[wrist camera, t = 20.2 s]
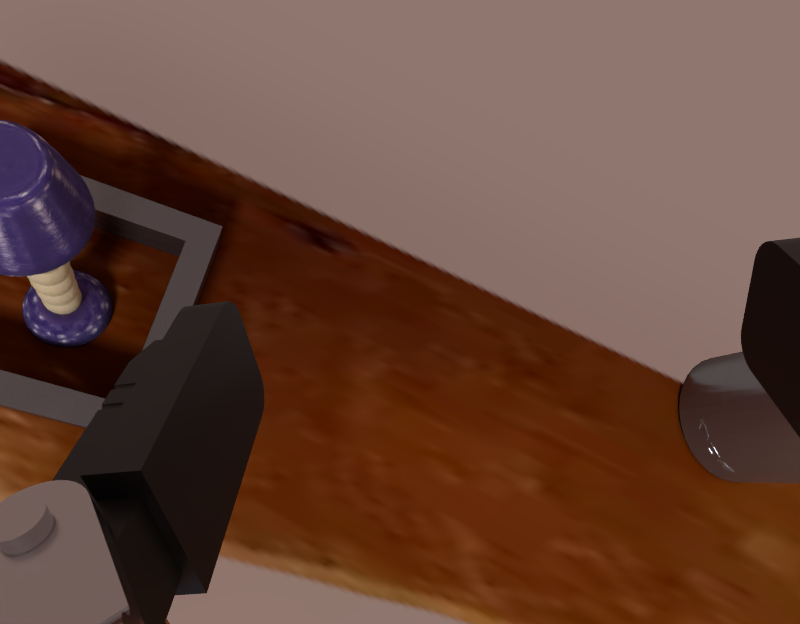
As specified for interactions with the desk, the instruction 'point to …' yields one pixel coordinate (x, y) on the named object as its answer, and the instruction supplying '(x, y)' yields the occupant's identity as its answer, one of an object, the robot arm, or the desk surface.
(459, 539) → the desk surface
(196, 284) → the square frame
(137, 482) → the robot arm
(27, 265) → the toy lamp
